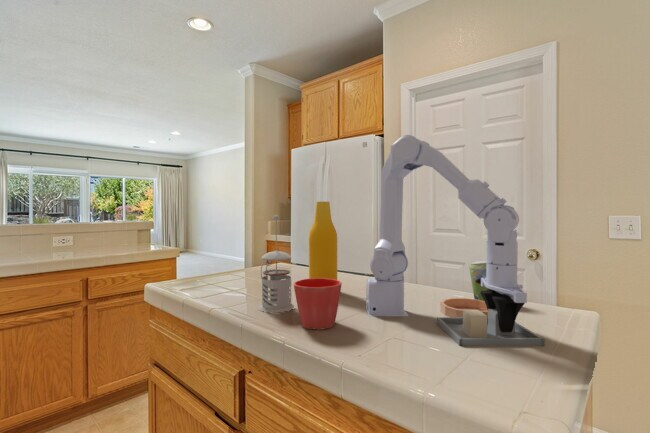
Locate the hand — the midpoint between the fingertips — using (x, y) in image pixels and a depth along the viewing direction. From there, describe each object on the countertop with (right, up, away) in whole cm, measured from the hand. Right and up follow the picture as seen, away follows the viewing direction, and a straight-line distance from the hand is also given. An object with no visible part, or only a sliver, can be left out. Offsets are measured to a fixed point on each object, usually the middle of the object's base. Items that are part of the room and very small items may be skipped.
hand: (501, 328), depth 70 cm
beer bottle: (-37, -1, +38) cm, 53 cm away
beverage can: (+8, -1, +24) cm, 25 cm away
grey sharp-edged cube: (0, -1, 0) cm, 1 cm away
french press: (-50, -1, +21) cm, 55 cm away
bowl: (-2, -1, +13) cm, 13 cm away
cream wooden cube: (-6, -1, -1) cm, 6 cm away
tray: (-4, -1, 0) cm, 4 cm away
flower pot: (-39, -2, +7) cm, 39 cm away
